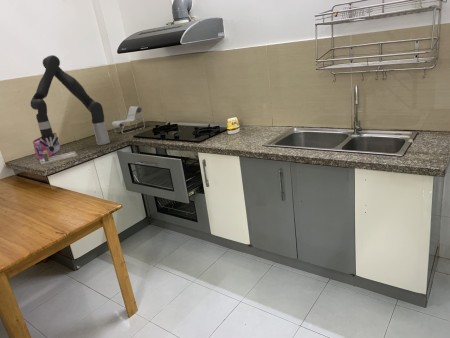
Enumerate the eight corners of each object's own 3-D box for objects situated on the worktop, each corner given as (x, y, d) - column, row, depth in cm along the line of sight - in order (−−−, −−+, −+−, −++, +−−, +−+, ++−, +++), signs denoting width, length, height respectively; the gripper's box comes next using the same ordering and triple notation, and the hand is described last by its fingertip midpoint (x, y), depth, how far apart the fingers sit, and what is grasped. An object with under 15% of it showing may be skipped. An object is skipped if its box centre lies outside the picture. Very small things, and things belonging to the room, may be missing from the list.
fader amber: (48, 157, 253) (46, 150, 251) (49, 158, 250) (47, 151, 248) (45, 158, 252) (43, 151, 250) (45, 159, 249) (43, 152, 247)
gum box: (46, 158, 256) (41, 140, 251) (36, 159, 256) (30, 141, 251) (61, 149, 278) (56, 132, 274) (51, 150, 278) (46, 133, 274)
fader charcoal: (48, 159, 247) (46, 152, 246) (48, 160, 244) (46, 153, 243) (44, 160, 246) (42, 153, 244) (45, 161, 243) (42, 154, 241)
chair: (145, 127, 320) (141, 106, 313) (121, 134, 304) (116, 112, 297) (138, 126, 329) (133, 105, 323) (113, 133, 313) (108, 111, 307)
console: (74, 152, 263) (74, 150, 262) (77, 155, 253) (77, 153, 252) (39, 160, 252) (39, 158, 251) (41, 164, 242) (40, 162, 241)
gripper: (54, 125, 252) (61, 148, 258) (34, 129, 246) (41, 152, 252) (56, 126, 246) (62, 150, 252) (35, 130, 240) (42, 154, 246)
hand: (52, 151), depth 252 cm, fingers closed
